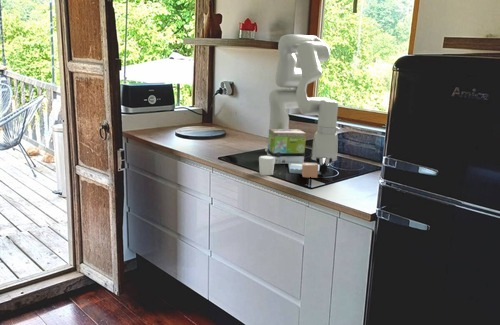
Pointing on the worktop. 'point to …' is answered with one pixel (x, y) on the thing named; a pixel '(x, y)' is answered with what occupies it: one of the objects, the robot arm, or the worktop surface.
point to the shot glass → (266, 165)
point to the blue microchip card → (297, 168)
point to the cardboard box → (309, 169)
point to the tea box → (286, 145)
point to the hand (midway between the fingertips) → (322, 173)
